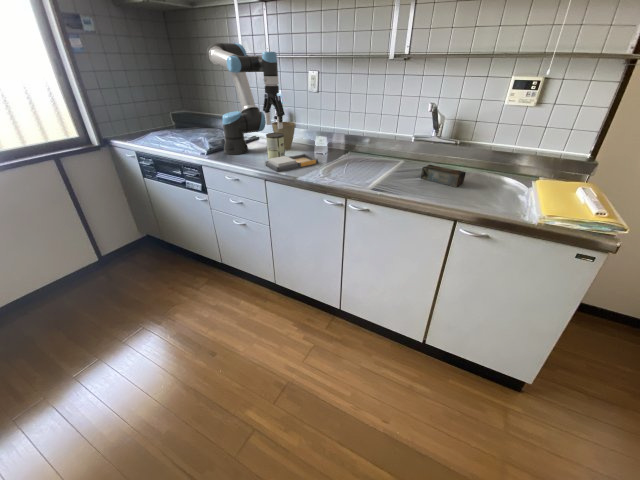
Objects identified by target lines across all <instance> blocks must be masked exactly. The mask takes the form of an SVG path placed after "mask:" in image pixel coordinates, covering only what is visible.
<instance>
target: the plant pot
mask: <svg viewBox="0 0 640 480" xmlns="http://www.w3.org/2000/svg"><path fill="white" fill-rule="evenodd" d="M271 126H272V127H271V128H272V131H273V132H272V133H283V134H284V149H285V151H289V150H291V147H292V143H293V140H294V134H295V130H296V123H295V122H292V121H283V128H282V129H278V121H275V122H271Z"/></svg>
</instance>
